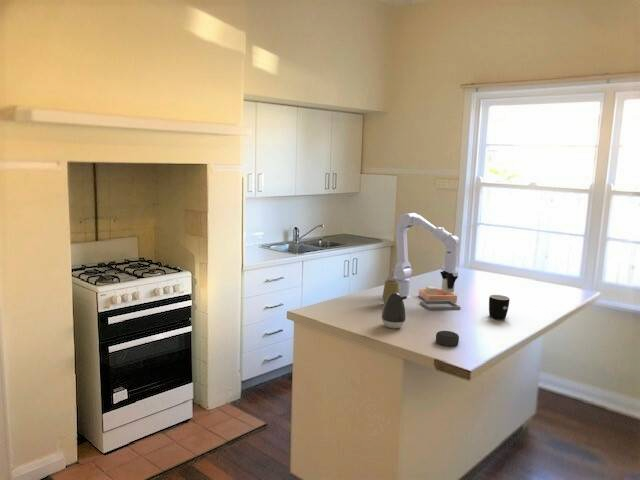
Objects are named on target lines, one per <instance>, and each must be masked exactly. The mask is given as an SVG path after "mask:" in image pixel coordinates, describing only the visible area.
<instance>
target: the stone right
mask: <svg viewBox="0 0 640 480" xmlns="http://www.w3.org/2000/svg"><path fill="white" fill-rule="evenodd" d="M441 289H442V291H444V292H452V293H454V292H455V291H454V290H455V283H454V285H453V288H452V289H448V282H447V278H443V279H442V282H441Z"/></svg>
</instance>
